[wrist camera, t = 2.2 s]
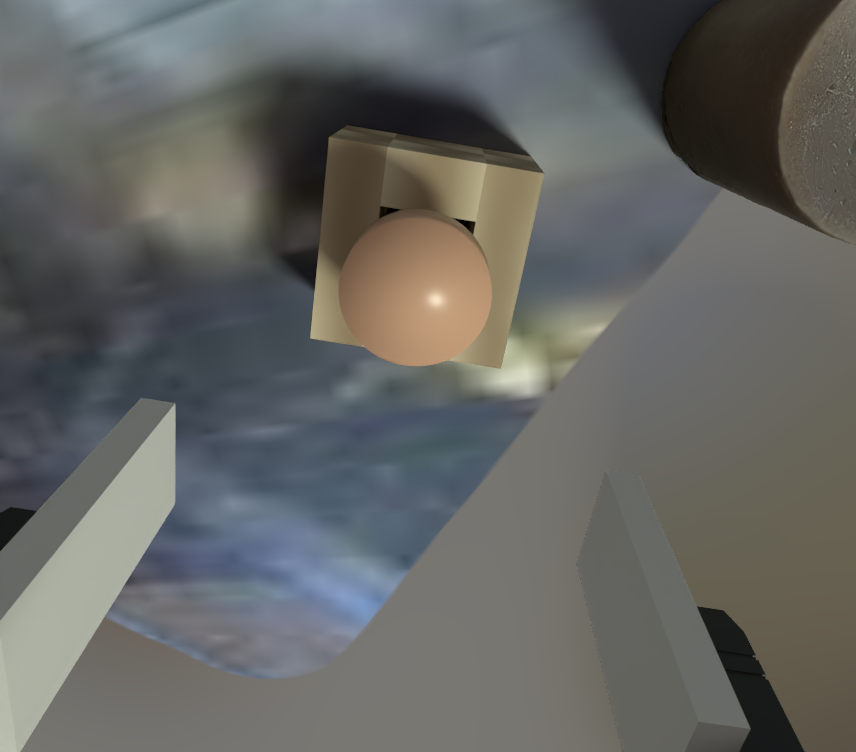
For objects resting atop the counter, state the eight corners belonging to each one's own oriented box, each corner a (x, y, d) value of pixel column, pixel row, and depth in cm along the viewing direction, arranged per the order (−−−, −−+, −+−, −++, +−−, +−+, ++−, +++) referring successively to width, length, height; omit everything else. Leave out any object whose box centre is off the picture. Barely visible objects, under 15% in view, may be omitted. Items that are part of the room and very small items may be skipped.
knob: (354, 298, 37) (331, 353, 30) (368, 176, 34) (347, 206, 27) (472, 317, 37) (476, 376, 30) (495, 198, 34) (506, 233, 28)
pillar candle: (637, 169, 37) (746, 236, 24) (697, -37, 33) (871, -98, 20) (809, 200, 38) (1012, 284, 24) (889, 1, 34) (1187, -32, 20)
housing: (329, 301, 41) (310, 338, 36) (347, 125, 37) (329, 137, 32) (494, 327, 42) (500, 368, 36) (531, 156, 37) (544, 173, 32)
